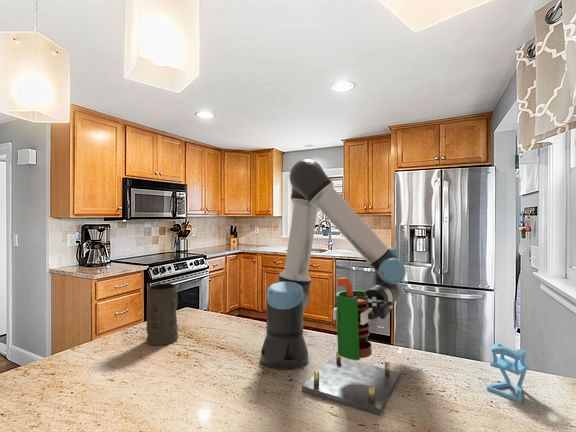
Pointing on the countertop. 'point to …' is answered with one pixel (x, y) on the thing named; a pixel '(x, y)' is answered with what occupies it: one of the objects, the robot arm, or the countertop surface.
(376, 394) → the plate
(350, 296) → the motor
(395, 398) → the countertop surface
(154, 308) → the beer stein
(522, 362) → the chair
